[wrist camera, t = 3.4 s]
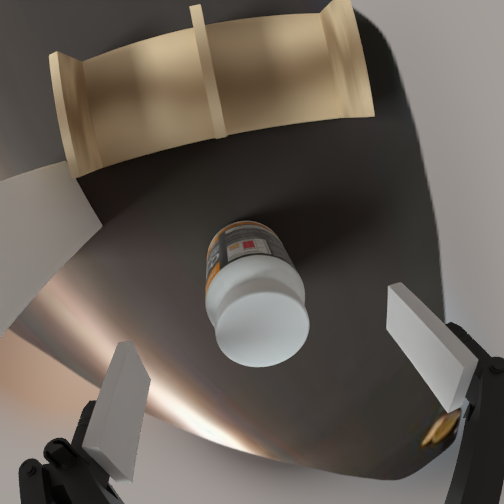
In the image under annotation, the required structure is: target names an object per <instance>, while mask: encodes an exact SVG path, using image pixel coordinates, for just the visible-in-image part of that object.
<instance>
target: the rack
mask: <svg viewBox="0 0 504 504" xmlns="http://www.w3.org/2000/svg"><path fill="white" fill-rule="evenodd" d="M190 11H191V17H192V22H193V27H194V28H189V29H185V30H180V31H176V32H172V33H168V34H164V35H160V36H157V37H153V38H150V39H146V40H143V41H140V42H136V43H133V44H130V45H127V46H124V47H121V48H118V49H115V50H112V51H110V52H107V53H104V54H101V55H99V56H96V57H94V58H91V59H89V60H86V61H84V62H81V61H79V60H77V59H74V58H72V57H70V56H67V55H65V54H62V53H60V52H58V51H57V52H55V53H53V54H51V55H49V62H50V70H51V78H52V85H53V92H54V99H55V105H56V111H57V116H58V121H59V127H60V132H61V136H62V141H63V146H64V150H65V154H66V159H67V163H68V167H69V171H70V175H71V178H72V179H75V178H78V177H81V176H83V175H86V174H88V173H91V172H93V171H96V170H98V169H101V168H103V167H107V166H110V165H113V164H116V163H119V162H123V161H126V160H129V159H133V158H136V157H140V156H143V155H147V154H151V153H154V152H158V151H162V150H165V149H169V148H173V147H177V146H181V145H185V144H190V143H194V142H198V141H203V140H207V139H212V138H216V139H219V138H223V137H227V135H231V134H236V133H241V132H247V131H252V130H258V129H263V128H269V127H276V126H282V125H289V124H296V123H303V122H310V121H318V120H327V119H336V118H353V117H374V116H375V114H374V107H373V101H372V95H371V89H370V83H369V78H368V73H367V67H366V62H365V58H364V53H363V48H362V44H361V40H360V35H359V31H358V27H357V23H356V19H355V16H354V12H353V8H352V5H351V1H350V0H332V1H331V2H330V3H329V4H328V5H327V6H326V7H325V8H324V9H323V10H322V11H321V12H320V13H315V14H290V15H275V16H264V17H255V18H247V19H239V20H232V21H226V22H220V23H214V24H209V25H205V24H204V19H203V14H202V9H201V4H199V5H194V6H190Z"/></svg>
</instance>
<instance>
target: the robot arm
mask: <svg viewBox="0 0 504 504" xmlns="http://www.w3.org/2000/svg"><path fill="white" fill-rule="evenodd" d="M386 329H387V330H388V332H389V333H390V334H391V336H392V337H393V338H394V340H395V341H396V342H397V344H398V345H399V346H400V348H401V349H402V350H403V352H404V353H405V354H406V356H407V357H408V358H409V360H410V361H411V362H412V364H413V365H414V366H415V368H416V369H417V370H418V372H419V373H420V375H421V376H422V377H423V379H424V380H425V382H426V383H427V384H428V386H429V387H430V388H431V390H432V391H433V393H434V394H435V396H436V397H437V398H438V400H439V401H440V403H441V404H442V406H443V407H444V408H445V410H446V411H447V413H449V412H451V411H453V410H455V409H457V408H459V407H461V406H462V404H463V402H464V399H465V397H466V398H467V400H468V401H469V402H470V403H469V405H468V407H467V410H466V412H465V414H464V417H463V418H465V417H466V420H465V426H464V431H463V437H462V441H461V446H460V450H459V455H458V459H457V463H456V467H455V471H454V474H453V478H452V481H451V485H450V488H449V491H448V494H447V497H446V501H445V504H499V500H500V495H501V491H502V486H503V480H504V359H503V358H501V357H491V356H490V355H489V354H488V353H487V352H486V351H485V350H484V349H483V348H482V347H481V346H480V345H479V344H478V343H477V342H476V341H475V340H474V339H472V337H471V336H470V335H469V334H467V332H466V331H465V330H464V329H462V327H460V326H459V325H457V324H454V323H452V322H450V323H448V324H444V323H443V322H442V321H441V320H440V319H439V318H438V317H437V316H436V315H435V314H434V313H433V312H432V311H430V310H429V309H428V308H427V307H426V306H425V305H424V304H423V303H422V302H421V301H420V300H419V299H418V298H417V297H416V296H415V295H414V294H413V293H412V292H411V291H410V290H409V289H408V288H406V287H405V286H404V285H403V284H402V283H401V282H400V283H396V284H393V285H389V286H388V307H387V327H386ZM150 381H151V379H150V377H149V375H148V373H147V371H146V369H145V367H144V365H143V363H142V361H141V359H140V357H139V355H138V353H137V351H136V349H135V347H134V345H133V343H132V341H126V342H119V343H118V345H117V347H116V350H115V353H114V355H113V358H112V360H111V363H110V365H109V368H108V371H107V373H106V376H105V379H104V382H103V384H102V387H101V390H100V393H99V396H98V398H97V401H89V403H88V404H87V405H86V406H85V407H84V409H83V411H82V414H81V417H80V418H81V419H79V422H78V426H77V428H76V431H75V434H74V437H73V440H72V443H71V445H70V443H69V442H68V441H67V440H66V439H64V438H56V439H53V440H51V441H50V442H49V443H47V445H46V446H45V448H44V452H43V453H44V458H45V459H46V460H47V461H48V462H49V464H44V465H42V464H41V463H39V461H38V460H36V459H28V460H26V461H24V462H23V463H22V464H21V466H20V468H19V487H20V498H21V504H124V503H123V501H122V500H121V498H120V497H119V496H118V494H117V493H116V491H115V490H114V489H113V487H112V486H111V485H110V484H109V483H108V481H109V477H111V478H113V479H114V480H115V481H116V482H124V483H132V481H133V474H134V467H135V461H136V455H137V449H138V443H139V437H140V432H141V426H142V421H143V415H144V410H145V405H146V400H147V395H148V390H149V386H150Z"/></svg>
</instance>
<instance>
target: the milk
mask: <svg viewBox="0 0 504 504" xmlns="http://www.w3.org/2000/svg"><path fill="white" fill-rule="evenodd" d="M101 228H102V224H101V222H100V220H99V219H98V217H97V215H96V214H95V212H94V210H93V208H92V207H91V205H90V203H89V202H88V200H87V198H86V196H85V195H84V193H83V191H82V189H81V187H80V186H79V184H78V182H77V180H76V178H75V179H72V178H71V175H70V171H69V167H68V163H67V162H66V161H62V162H59V163H55V164H52V165H49V166H45V167H42V168H39V169H35V170H32V171H29V172H26V173H23V174H20V175H17V176H14V177H11V178H8V179H5V180H2V181H0V338H1V336H2V335H3V334H4V333H5V332H6V330H7V329H8V328H9V327H10V325H11V324H12V323H13V322H14V320H15V319H16V318H17V317H18V316H19V314H20V313H21V312H22V311H23V310H24V308H25V307H26V306H27V305H28V304H29V303H30V301H31V300H32V299H33V298H34V297H35V296H36V295H37V294H38V292H39V291H40V290H41V289H42V288H43V287H44V286H45V285H46V284H47V282H48V281H49V280H50V279H51V278H52V277H53V276H54V275H55V274H56V273H57V272H58V271H59V270H60V269H61V267H62V266H63V265H64V264H65V263H66V262H67V261H68V260H69V259H70V258H71V257H72V256H73V255H74V254H75V253H76V252H77V251H78V250H79V249H80V248H81V247H82V246H83V245H84V244H85V243H86V242H87V241H88V240H89V239H90V238H91V237H92V236H93V235H94V234H95V233H96V232H97V231H98V230H100V229H101Z"/></svg>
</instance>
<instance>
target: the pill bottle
mask: <svg viewBox="0 0 504 504" xmlns="http://www.w3.org/2000/svg"><path fill="white" fill-rule="evenodd" d="M304 302H305V291H304V285H303V282H302V279H301V277H300V275H299V274H298V272H297V270H296V268H295V266H294V265H293V263H292V261H291V259H290V257H289V256H288V254H287V252H286V250H285V248H284V247H283V244H282V242H281V241H280V239H279V238H278V237H277V235H276V234H275V233H274V232H273V231H272V230H271V229H270V228H268V227H267V226H265V225H263V224H261V223H258V222H254V221H239V222H235V223H232V224H230V225H228V226H226V227H225V228H223V229H221V230H220V231H219V232H218V233H217V234H216V235H215V237H214V238H213V240H212V242H211V244H210V246H209V249H208V254H207V275H206V311H207V314H208V317H209V319H210V321H211V323H212V324H213V326H214V327H215V334H216V340H217V343H218V345H219V347H220V349H221V350H222V352H223V353H224V354H225V355H226V356H227V357H229V358H230V359H231V360H233V361H235V362H237V363H239V364H242V365H246V366H251V367H266V366H271V365H275V364H278V363H280V362H283V361H285V360H287V359H288V358H290V357H291V356H293V355H294V354H295V353H296V352H297V351H298V350H299V349H300V348H301V347H302V345H303V344H304V342H305V340H306V338H307V335H308V332H309V317H308V314H307V311H306V309H305V306H304Z"/></svg>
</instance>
